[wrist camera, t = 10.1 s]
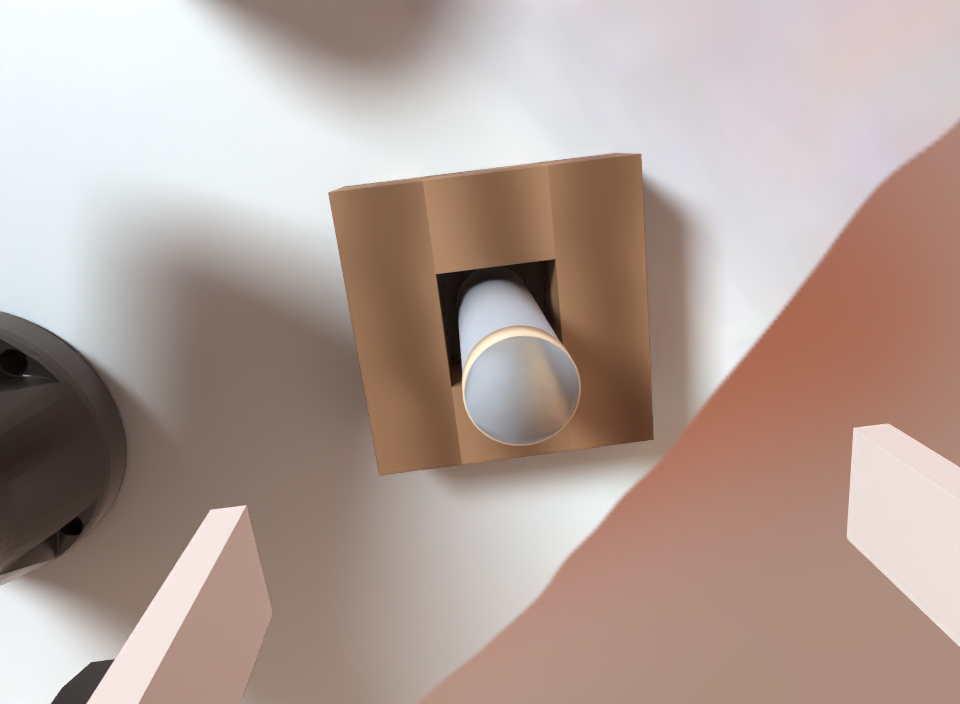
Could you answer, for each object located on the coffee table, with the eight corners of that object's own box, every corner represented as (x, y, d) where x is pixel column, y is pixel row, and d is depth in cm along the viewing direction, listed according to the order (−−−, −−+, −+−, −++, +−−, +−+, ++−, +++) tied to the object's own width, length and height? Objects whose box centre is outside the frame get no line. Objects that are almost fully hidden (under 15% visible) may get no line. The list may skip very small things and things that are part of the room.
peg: (460, 342, 37) (470, 452, 23) (451, 269, 36) (455, 342, 22) (533, 333, 37) (584, 437, 24) (526, 260, 36) (576, 327, 22)
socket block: (387, 434, 38) (379, 475, 33) (344, 186, 34) (328, 192, 29) (627, 403, 38) (653, 439, 34) (613, 153, 34) (641, 153, 29)
